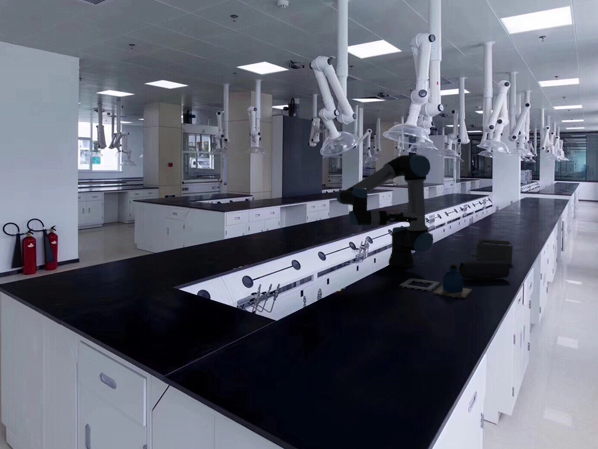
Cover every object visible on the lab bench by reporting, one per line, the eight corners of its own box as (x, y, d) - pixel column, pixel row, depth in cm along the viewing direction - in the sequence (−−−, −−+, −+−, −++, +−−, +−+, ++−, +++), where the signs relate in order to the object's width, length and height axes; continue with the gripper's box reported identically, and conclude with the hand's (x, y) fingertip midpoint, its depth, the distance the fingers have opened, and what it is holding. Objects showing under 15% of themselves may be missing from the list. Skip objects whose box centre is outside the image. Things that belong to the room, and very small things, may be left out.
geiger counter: (513, 240, 262) (469, 236, 275) (512, 241, 256) (467, 238, 270) (512, 263, 264) (468, 258, 277) (510, 265, 258) (466, 260, 272)
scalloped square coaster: (399, 286, 215) (399, 284, 215) (410, 280, 227) (410, 278, 227) (430, 291, 206) (430, 289, 206) (439, 284, 219) (439, 282, 219)
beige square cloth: (433, 294, 202) (433, 292, 202) (442, 287, 214) (442, 285, 214) (464, 298, 194) (464, 296, 194) (472, 291, 206) (472, 289, 206)
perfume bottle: (452, 293, 200) (453, 267, 198) (442, 289, 205) (443, 264, 204) (462, 291, 203) (463, 265, 201) (452, 288, 208) (453, 263, 206)
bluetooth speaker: (500, 277, 231) (501, 258, 230) (509, 281, 222) (510, 262, 221) (458, 277, 231) (458, 259, 229) (465, 282, 222) (466, 263, 220)
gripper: (373, 221, 241) (412, 221, 241) (383, 228, 216) (426, 227, 216) (374, 208, 240) (412, 207, 240) (383, 213, 215) (426, 212, 215)
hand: (419, 217), depth 228 cm, fingers open, 13 cm apart
